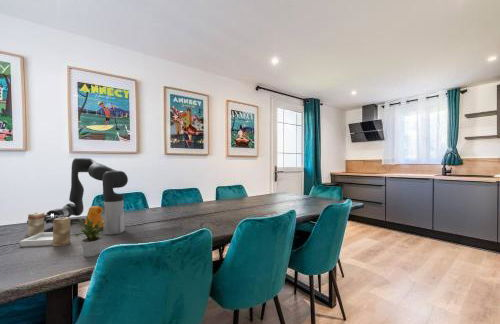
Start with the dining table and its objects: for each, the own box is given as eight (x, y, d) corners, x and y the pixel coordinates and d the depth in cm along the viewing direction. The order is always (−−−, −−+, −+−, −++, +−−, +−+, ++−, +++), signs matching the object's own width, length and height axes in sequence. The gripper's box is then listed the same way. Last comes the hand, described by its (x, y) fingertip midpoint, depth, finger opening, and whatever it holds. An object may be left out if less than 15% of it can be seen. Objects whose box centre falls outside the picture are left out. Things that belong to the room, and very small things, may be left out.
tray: (69, 236, 119) (69, 231, 119) (52, 245, 106) (52, 239, 106) (40, 237, 117) (40, 232, 117) (19, 246, 104) (19, 241, 104)
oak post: (70, 242, 110) (70, 216, 110) (64, 245, 105) (64, 219, 105) (59, 242, 109) (59, 217, 109) (53, 246, 104) (53, 219, 104)
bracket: (95, 229, 131) (95, 208, 131) (84, 228, 132) (84, 207, 132) (109, 224, 142) (110, 204, 142) (99, 223, 143) (99, 204, 143)
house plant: (56, 261, 89) (56, 218, 89) (84, 248, 103) (84, 211, 103) (92, 262, 88) (92, 219, 88) (115, 248, 102) (115, 211, 102)
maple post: (44, 233, 124) (44, 212, 124) (38, 235, 119) (38, 214, 119) (34, 233, 123) (34, 212, 123) (27, 236, 118) (28, 214, 118)
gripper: (44, 209, 136) (21, 215, 120) (70, 208, 139) (52, 214, 123) (43, 221, 136) (21, 229, 120) (70, 220, 139) (52, 228, 123)
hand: (37, 221), depth 122 cm, fingers open, 8 cm apart
